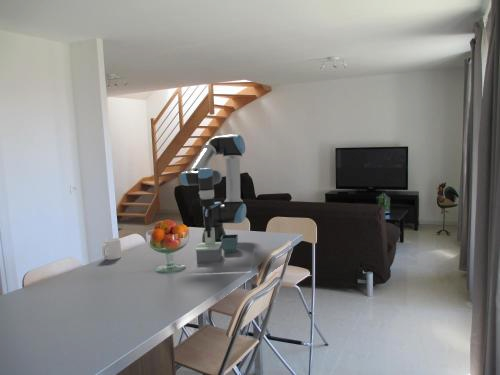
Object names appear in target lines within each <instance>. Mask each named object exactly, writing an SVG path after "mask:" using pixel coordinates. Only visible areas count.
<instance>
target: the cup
mask: <svg viewBox="0 0 500 375" xmlns="http://www.w3.org/2000/svg"><path fill="white" fill-rule="evenodd" d="M101 248H102V249H101V252H102V256H103V257H104V258H105V259H106V260H108V261H110V260H111V261H113V260H117V259H120V258H122V256H123V255H122V243H121V238H118V237H113V238H108V239H105V240H104V244H103V245H102V247H101Z"/></svg>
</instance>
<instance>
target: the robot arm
mask: <svg viewBox="0 0 500 375" xmlns="http://www.w3.org/2000/svg"><path fill="white" fill-rule="evenodd" d="M245 152H246V145H245V140H244V138H243V136H242V135H240V134H226V135H216V136H213V137H212V138H210V139H208V140H207V141H206V142H205V143H203V145H202V147H201V150H200V153H199V154H198V156H197V157H196V159H195V160H194V161H193V163H192V164H191V166H190V167H189V169H188V170H187V171H182V172H180V175H179V182H180V184H181V185H182V186H188V187H189V186H198V195H199V198H200V199H199V206H200V207H202V214H203V215H202V216H203V229H204V228H205V231H206V236H207V244H211V243H212V231H211V228H214V231H215V242H221V237H222V235H227V234H226V231H225V228H224V225H223V224H241V223H243V222H244V221H245V220H246V216H247V206H246V204H245V203H244V200H243V199H242V198H241V170H240V169H241V163H240V162H241V158H242V157H243V154H245ZM217 155H222V157H223V158H224V159H225V183H226V184H225V186H226V188H225V191H226V196H225V197H226V198H225V200H224V201H223V204H222V201H215V188H214V185H217V184H220V183H221V181H222V179H223V176H222V173H221V172H220V171H219V170H217V169H214V170H213V168H211V167H208V166H209V164H210V162H211V160H212V159H214V158H215V157H216V156H217ZM201 236H202V237H201V238H202V239H201V241H202V243H205V234H204V231H203V233H202V235H201Z"/></svg>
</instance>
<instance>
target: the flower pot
mask: <svg viewBox="0 0 500 375" xmlns="http://www.w3.org/2000/svg"><path fill="white" fill-rule="evenodd" d="M238 239H239V235H238V234H235V233H234V234H226V235H222V237H221V241H220V242H222V244H221V249H222V250H223V252H224V253H236V250H237V248H238V244H239V242H238V241H239V240H238Z"/></svg>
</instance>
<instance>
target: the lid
mask: <svg viewBox="0 0 500 375" xmlns="http://www.w3.org/2000/svg"><path fill="white" fill-rule="evenodd" d="M211 231H212V243H211V244H207V236H206V231H205V228H204V227H203V232H204V234H205V242H199V243H198V244H197V246H196V248H195V251H200V250H219V248H220V246H221V247H222V242H221V241H220V242H215V231H214V228H211Z"/></svg>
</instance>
